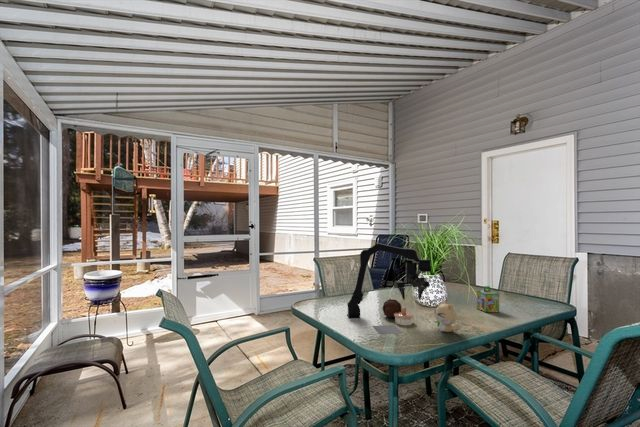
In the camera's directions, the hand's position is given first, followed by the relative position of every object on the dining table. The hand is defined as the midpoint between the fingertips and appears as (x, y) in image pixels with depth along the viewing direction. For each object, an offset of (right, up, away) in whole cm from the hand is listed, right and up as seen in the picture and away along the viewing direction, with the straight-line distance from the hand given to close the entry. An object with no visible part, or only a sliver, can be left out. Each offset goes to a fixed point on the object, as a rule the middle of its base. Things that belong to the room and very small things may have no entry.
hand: (411, 299), depth 174 cm
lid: (-6, -8, -4) cm, 10 cm away
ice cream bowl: (-7, -8, +14) cm, 18 cm away
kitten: (+12, -12, -15) cm, 23 cm away
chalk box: (+53, -13, +19) cm, 57 cm away
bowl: (-5, -12, -4) cm, 14 cm away
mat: (-17, -12, -15) cm, 25 cm away
